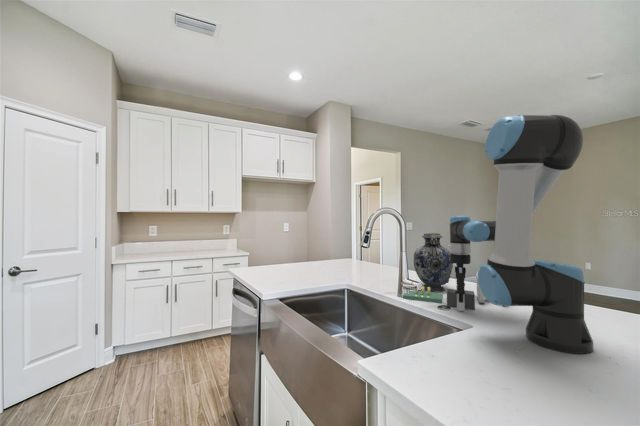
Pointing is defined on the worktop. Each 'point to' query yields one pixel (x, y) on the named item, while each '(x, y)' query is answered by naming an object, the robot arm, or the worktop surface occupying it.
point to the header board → (424, 296)
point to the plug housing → (468, 299)
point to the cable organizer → (479, 291)
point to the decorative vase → (433, 263)
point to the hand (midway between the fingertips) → (460, 305)
